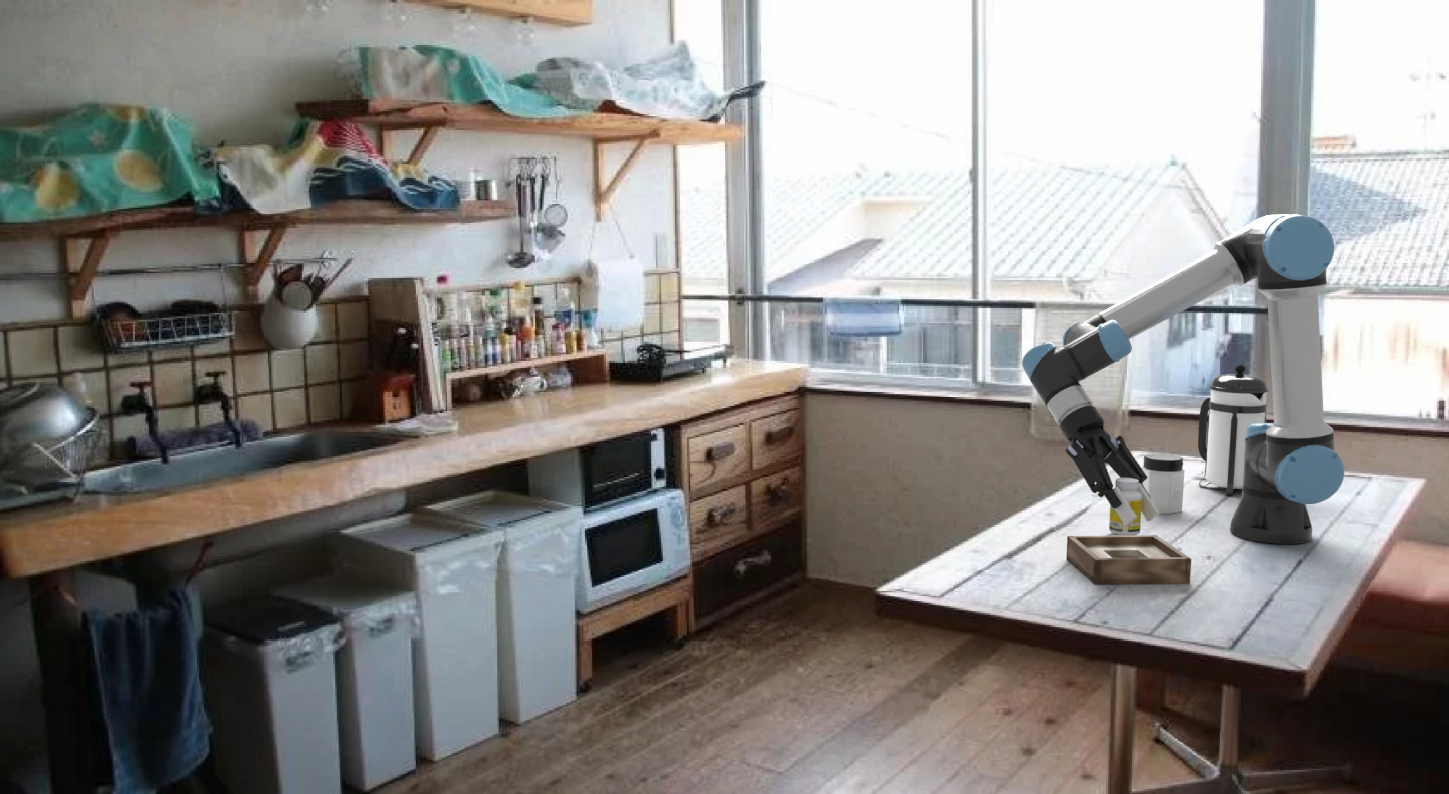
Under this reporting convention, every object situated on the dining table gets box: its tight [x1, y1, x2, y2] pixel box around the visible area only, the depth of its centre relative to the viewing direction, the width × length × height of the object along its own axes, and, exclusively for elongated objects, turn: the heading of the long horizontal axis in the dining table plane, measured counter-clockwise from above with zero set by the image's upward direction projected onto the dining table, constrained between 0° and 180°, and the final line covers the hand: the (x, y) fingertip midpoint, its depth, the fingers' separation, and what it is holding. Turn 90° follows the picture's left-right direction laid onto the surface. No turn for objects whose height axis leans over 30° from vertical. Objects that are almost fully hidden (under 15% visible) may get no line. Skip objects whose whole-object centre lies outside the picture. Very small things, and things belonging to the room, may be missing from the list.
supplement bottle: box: [1108, 477, 1142, 536], centre depth 221 cm, size 5×5×10 cm
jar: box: [1140, 452, 1185, 516], centre depth 268 cm, size 9×8×12 cm
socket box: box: [1065, 534, 1192, 586], centre depth 223 cm, size 17×16×4 cm
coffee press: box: [1197, 363, 1270, 497], centre depth 288 cm, size 17×16×30 cm
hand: (1142, 519), depth 218 cm, fingers closed on supplement bottle, 5 cm apart
